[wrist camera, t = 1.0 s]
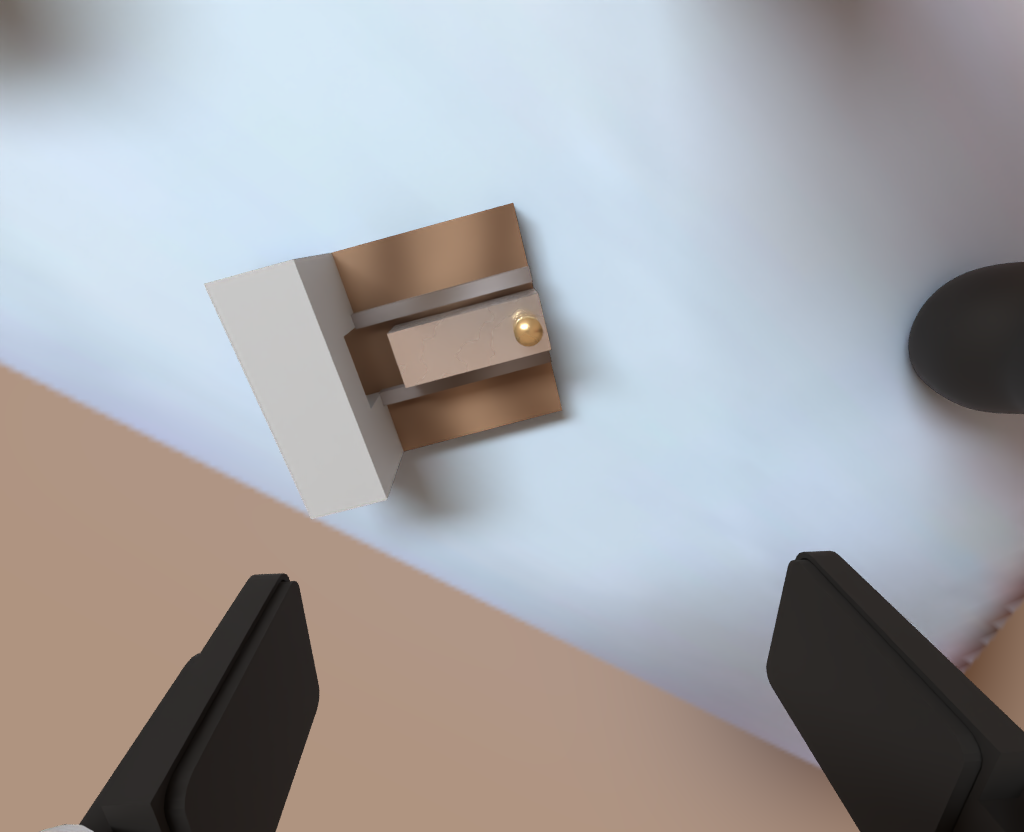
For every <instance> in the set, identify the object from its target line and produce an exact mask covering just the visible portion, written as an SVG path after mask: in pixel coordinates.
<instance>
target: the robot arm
mask: <svg viewBox="0 0 1024 832" xmlns="http://www.w3.org/2000/svg"><path fill="white" fill-rule="evenodd" d="M766 669H767V676H768V679H769V682H770V684H771V686H772V688H773V690H774V691H775V693H776V695H777V696H778V698H779V699H780V701H781V703H782V704H783V706H784V708H785V709H786V711H787V713H788V714H789V716H790V718H791V719H792V721H793V722H794V724H795V726H796V727H797V729H798V731H799V732H800V734H801V736H802V737H803V739H804V740H805V742H806V744H807V745H808V747H809V749H810V750H811V752H812V754H813V755H814V757H815V758H816V760H817V762H818V763H819V765H820V767H821V768H822V770H823V772H824V773H825V775H826V776H827V778H828V780H829V781H830V783H831V785H832V786H833V788H834V790H835V791H836V793H837V794H838V796H839V798H840V799H841V801H842V803H843V804H844V806H845V807H846V809H847V811H848V812H849V814H850V816H851V817H852V819H853V821H854V822H855V824H856V826H857V827H858V829H859V830H860V832H1024V732H1023V731H1022V730H1021V729H1020V728H1019V727H1018V726H1017V725H1016V724H1015V723H1014V722H1013V721H1012V720H1011V719H1010V718H1009V717H1008V716H1007V715H1006V714H1004V712H1003V711H1002V710H1000V709H999V708H998V707H997V706H996V705H995V704H994V703H993V702H992V701H991V700H990V699H989V698H988V697H987V696H986V695H985V694H984V693H983V692H982V691H980V689H978V688H977V687H976V686H975V685H974V684H973V683H972V682H971V681H970V680H969V679H968V678H967V677H966V676H965V675H964V674H963V673H962V672H961V671H960V670H959V669H958V668H957V667H956V666H954V665H953V664H952V663H951V662H950V661H949V660H948V659H947V658H946V657H945V656H944V655H943V654H942V653H941V652H940V651H939V650H938V649H937V648H936V647H935V646H934V645H932V644H931V643H930V642H929V641H928V640H927V639H926V638H925V637H924V636H923V635H922V634H921V633H920V632H919V631H918V630H917V629H916V628H915V627H914V626H913V625H912V624H911V623H909V622H908V621H907V620H906V619H905V618H904V617H903V616H902V615H901V614H900V613H899V612H898V611H897V610H896V609H895V608H894V607H893V606H892V605H891V604H890V603H889V602H887V601H886V600H885V599H884V598H883V597H882V596H881V595H880V594H879V593H878V592H877V591H876V590H875V589H874V588H873V587H872V586H871V585H870V584H869V583H868V582H867V581H866V580H864V579H863V578H862V577H861V576H860V575H859V574H858V573H857V572H856V571H855V570H854V569H853V568H852V567H851V566H850V565H849V564H848V563H847V562H846V561H845V560H844V559H842V558H841V557H840V556H839V555H838V554H837V553H835V552H832V551H816V552H802V553H799V554H798V555H797V557H796V559H795V560H793V561H791V562H790V563H789V565H788V569H787V573H786V578H785V582H784V587H783V591H782V596H781V601H780V605H779V610H778V614H777V619H776V624H775V628H774V633H773V637H772V642H771V646H770V651H769V656H768V660H767V666H766ZM318 702H319V685H318V679H317V674H316V670H315V664H314V659H313V654H312V649H311V645H310V639H309V634H308V629H307V624H306V619H305V614H304V609H303V604H302V599H301V593H300V588H299V585H298V583H297V582H296V581H290V580H289V577H288V576H287V574H261V575H260V574H259V575H253V576H251V577H250V578H249V579H248V581H247V582H246V584H245V585H244V587H243V588H242V590H241V591H240V593H239V594H238V596H237V598H236V599H235V601H234V602H233V604H232V605H231V607H230V608H229V610H228V611H227V613H226V614H225V616H224V617H223V619H222V621H221V622H220V624H219V625H218V627H217V628H216V630H215V631H214V633H213V634H212V636H211V637H210V639H209V641H208V642H207V644H206V645H205V647H204V648H203V650H202V651H201V653H199V654H197V655H195V656H194V657H192V658H191V659H190V661H188V663H187V664H186V665H185V667H184V668H183V669H182V671H181V672H180V674H179V676H178V677H177V679H176V680H175V681H174V683H173V684H172V686H171V688H170V689H169V690H168V692H167V693H166V695H165V697H164V698H163V699H162V701H161V702H160V704H159V705H158V707H157V709H156V710H155V712H154V713H153V714H152V716H151V718H150V719H149V721H148V722H147V723H146V725H145V726H144V728H143V730H142V731H141V732H140V734H139V736H138V737H137V738H136V740H135V742H134V743H133V745H132V746H131V748H130V749H129V751H128V752H127V754H126V755H125V757H124V758H123V759H122V761H121V763H120V764H119V765H118V767H117V769H116V770H115V771H114V773H113V774H112V776H111V777H110V779H109V780H108V782H107V783H106V785H105V786H104V788H103V790H102V791H101V792H100V794H99V795H98V797H97V798H96V800H95V801H94V803H93V804H92V806H91V808H90V809H89V811H88V812H87V813H86V815H85V817H84V818H83V820H82V821H81V823H80V824H79V825H66V824H64V825H61V826H56V827H53V828H49V829H45V830H42V831H40V832H275V831H276V829H277V826H278V823H279V820H280V817H281V814H282V810H283V808H284V805H285V802H286V799H287V796H288V793H289V790H290V787H291V784H292V782H293V779H294V776H295V773H296V770H297V767H298V764H299V761H300V758H301V755H302V752H303V749H304V746H305V743H306V740H307V737H308V734H309V731H310V729H311V725H312V723H313V719H314V717H315V714H316V711H317V707H318Z"/></svg>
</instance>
